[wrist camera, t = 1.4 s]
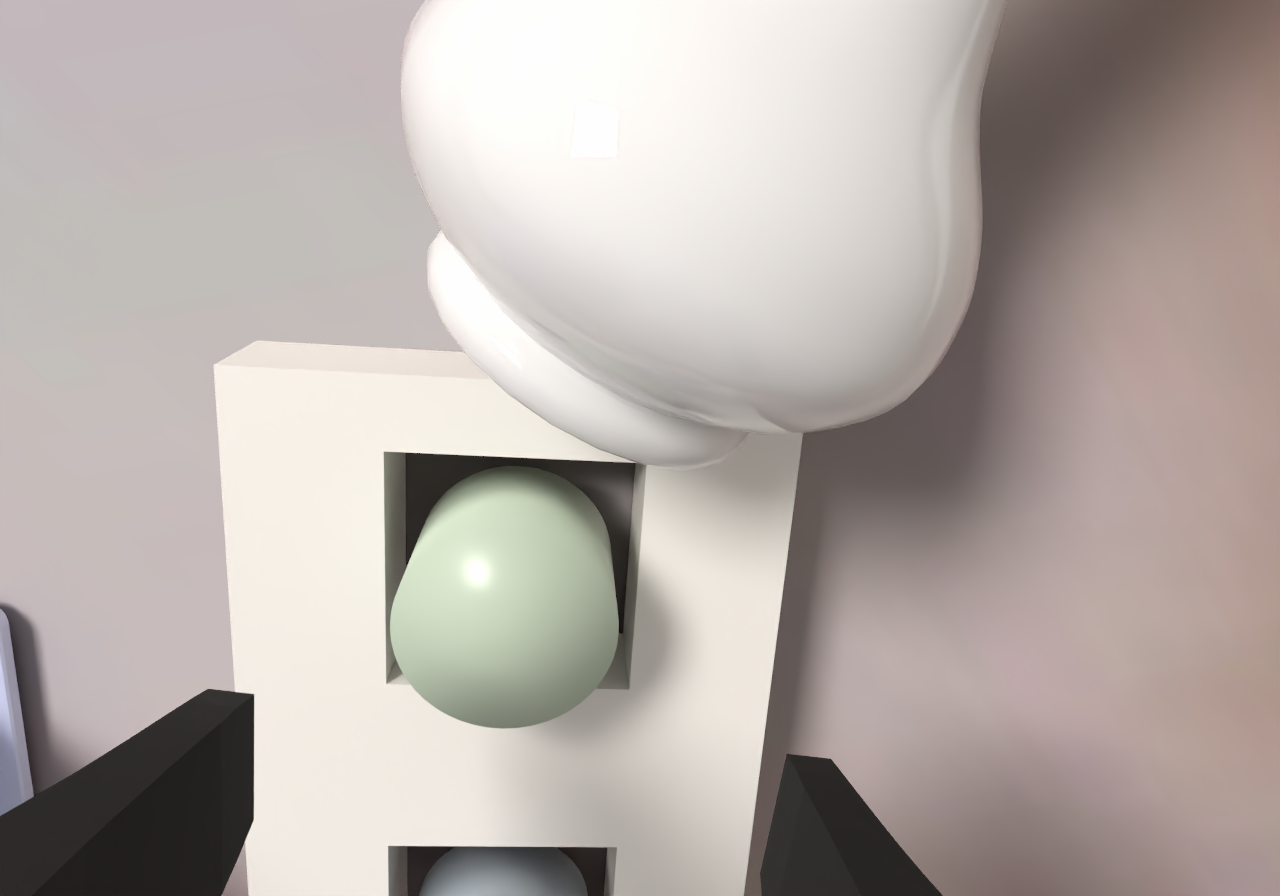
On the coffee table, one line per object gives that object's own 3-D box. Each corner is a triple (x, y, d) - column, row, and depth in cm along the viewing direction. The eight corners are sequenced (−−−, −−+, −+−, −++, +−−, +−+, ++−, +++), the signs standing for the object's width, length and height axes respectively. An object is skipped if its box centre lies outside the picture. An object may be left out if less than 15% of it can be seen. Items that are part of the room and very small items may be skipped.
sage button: (418, 638, 20) (390, 726, 16) (418, 461, 18) (388, 520, 15) (605, 643, 20) (611, 730, 17) (617, 469, 19) (626, 529, 16)
